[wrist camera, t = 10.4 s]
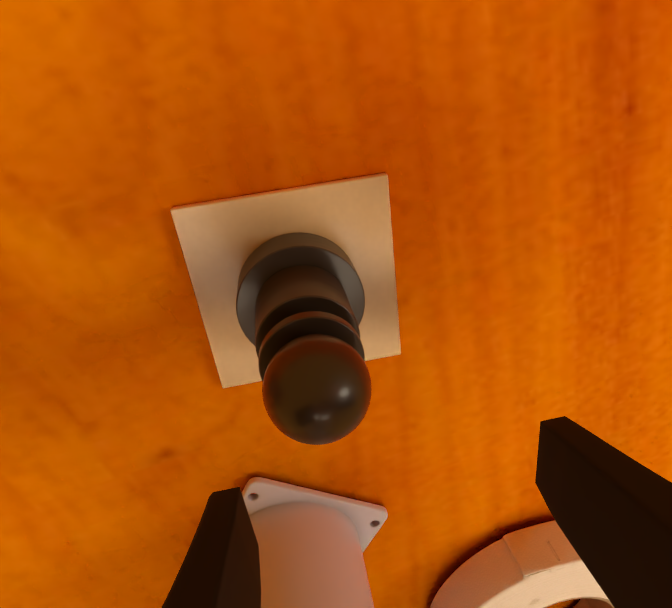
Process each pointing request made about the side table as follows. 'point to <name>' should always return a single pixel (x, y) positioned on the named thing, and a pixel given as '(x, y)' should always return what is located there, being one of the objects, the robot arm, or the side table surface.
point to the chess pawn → (306, 335)
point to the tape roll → (523, 574)
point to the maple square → (277, 219)
